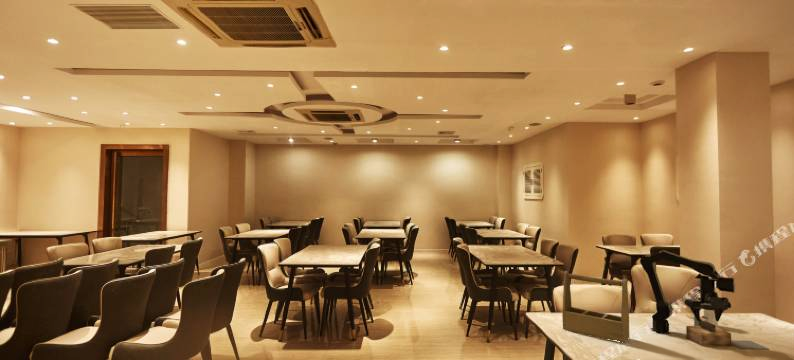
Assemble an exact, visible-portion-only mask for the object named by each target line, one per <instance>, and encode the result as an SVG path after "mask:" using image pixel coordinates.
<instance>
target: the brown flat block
mask: <svg viewBox="0 0 794 360" xmlns="http://www.w3.org/2000/svg"><path fill="white" fill-rule="evenodd" d="M685 328H686V327H685ZM685 331H686V333H685V335H686V337H685V338H686V339H688V340H690V341H692V343H695V344H697V345H699V346H701V347H732V345H731V340H732V334H731V335H700V334H698V333H696V332H694V331H692V330H690V329H687V328H686V330H685Z"/></svg>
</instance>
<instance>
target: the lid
mask: <svg viewBox="0 0 794 360" xmlns="http://www.w3.org/2000/svg"><path fill="white" fill-rule="evenodd" d="M685 328H687V329H690V330H692V331H694V332H696V333H698V334H700V335H731V336H732V333H731V332H729V331H726V330H724V329H722V328H720V327H716V325H714V324H711V323H709V322H706V321H701V326H694V325H686V326H685Z"/></svg>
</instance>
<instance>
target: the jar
mask: <svg viewBox="0 0 794 360" xmlns="http://www.w3.org/2000/svg"><path fill="white" fill-rule="evenodd" d="M700 308H702V309H701V310H700V317H702V316H705V317H707V318H708V320H709V323H711V324H714V325H716V327H718V324H719V321H716V319H715V313H714V307H713V306H712V305H701V307H700ZM718 328H719V327H718Z"/></svg>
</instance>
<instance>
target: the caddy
mask: <svg viewBox="0 0 794 360" xmlns="http://www.w3.org/2000/svg"><path fill="white" fill-rule="evenodd" d="M570 279H571V280H575V281H576V280H577V281H581V282H587V283H588V282H589V283H597V284H602V285H609V286H615V287H616V286H617V287H621V307H620V308H621V313H620V315H616V314H611V313H604V312H601V311H600V312H599V311H596V310H595V311H594V310H591V309H590V310H589V309H584V308H580V307H575V306H572V294H571V283H570V281H571V280H570ZM628 289H629V288H628V279H627V278H623V279H622V280H616V279H610V278H609V279H608V278H603V277H602V278H599V277H592V276H587V275H581V274H575V273H570V272H569V271H567V270H565V271H564V274H563V292H562V293H563V294H562V312H561V313H562V318H561V319H562V330H565V331H567V330H568V332H572V333H576V334H581V335H584V336H585V335H586V336H589V335H590V337H593V336H594V338H597V337H599V338H598V339H602V338H603V340H606V339H610V340H617V341H620V342H623V343H624V344H626V342H627V341H628V340H629V339H630V311H629V310H630V309H629V308H630V307H629V291H628ZM628 338H629V339H628ZM627 339H628V340H627ZM610 340H609V341H610ZM626 340H627V341H626ZM623 343H622V344H623Z"/></svg>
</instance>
